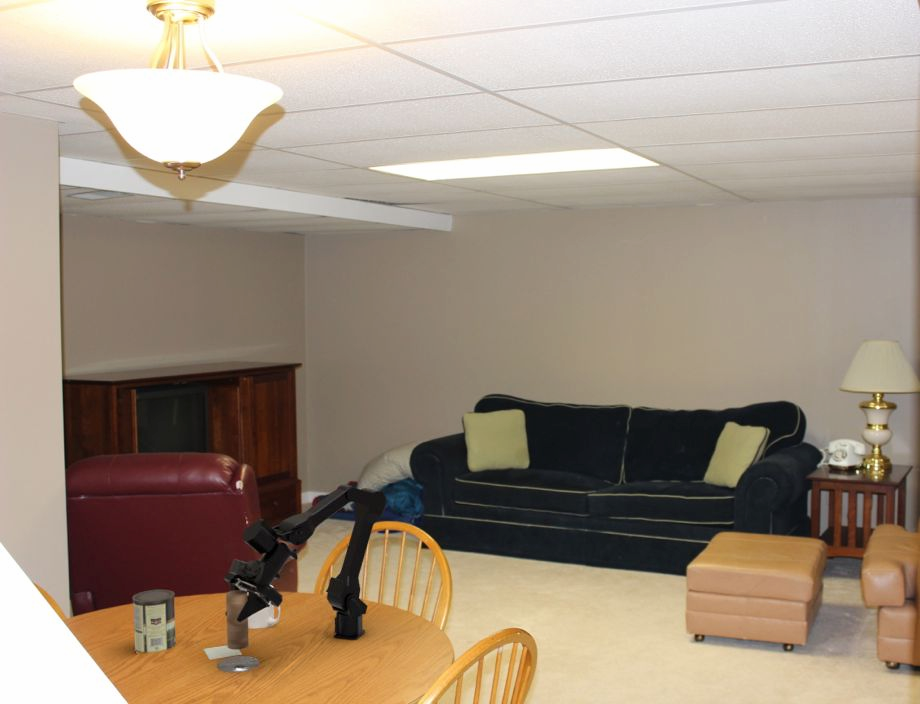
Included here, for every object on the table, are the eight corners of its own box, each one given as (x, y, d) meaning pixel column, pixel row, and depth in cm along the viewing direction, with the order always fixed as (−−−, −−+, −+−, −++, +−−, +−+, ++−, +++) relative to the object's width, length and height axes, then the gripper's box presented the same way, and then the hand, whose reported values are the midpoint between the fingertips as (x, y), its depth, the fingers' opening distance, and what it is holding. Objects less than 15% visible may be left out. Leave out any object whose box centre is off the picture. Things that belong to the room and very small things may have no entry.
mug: (269, 636, 268) (268, 596, 267) (235, 629, 274) (234, 590, 273) (290, 626, 275) (289, 587, 274) (256, 619, 281) (255, 581, 280)
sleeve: (250, 641, 248) (249, 589, 247) (246, 649, 243) (245, 596, 242) (229, 642, 247) (228, 590, 247) (225, 649, 242) (224, 596, 242)
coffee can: (162, 639, 266) (161, 586, 265) (183, 648, 259) (182, 594, 258) (126, 649, 259) (124, 595, 258) (147, 659, 252) (145, 604, 251)
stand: (235, 647, 259) (235, 644, 259) (242, 658, 252) (242, 654, 252) (203, 652, 256) (203, 649, 256) (209, 663, 249) (209, 659, 249)
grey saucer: (266, 663, 249) (266, 658, 249) (246, 678, 239) (246, 673, 239) (230, 659, 252) (230, 654, 251) (209, 673, 242) (209, 669, 242)
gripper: (229, 539, 253) (191, 592, 246) (270, 553, 239) (230, 609, 232) (258, 563, 259) (220, 616, 252) (299, 579, 245) (261, 634, 238)
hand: (232, 618), depth 244 cm, fingers closed on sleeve, 5 cm apart
